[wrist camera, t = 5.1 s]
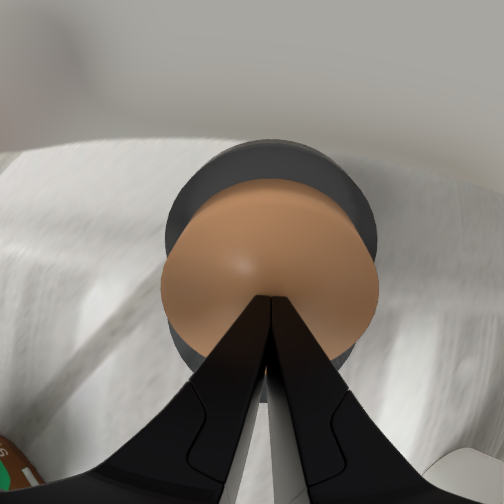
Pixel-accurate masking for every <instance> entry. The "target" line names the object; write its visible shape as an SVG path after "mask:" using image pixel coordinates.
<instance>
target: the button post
mask: <svg viewBox="0 0 504 504" xmlns="http://www.w3.org/2000/svg"><path fill="white" fill-rule="evenodd" d="M256 179H284V180H292V181H295V182H299V183H302V184H306V185H308V186H310V187H313V188H315V189H317V190H319V191H321V192H322V193H324V194H325V195H327V196H329V197H330V198H331V199H332V200H334V201H335V202H336V203H337V204H338V205H339V206H340V207H341V208H342V209H343V210H344V211H345V212H346V214H347V215H348V217H349V218H350V220H351V221H352V223H353V225H354V226H355V228H356V230H357V232H358V233H359V235H360V237H361V239H362V241H363V243H364V244H365V246H366V248H367V250H368V252H369V254H370V256H371V258H372V260H373V263H374V262H375V257H376V252H377V231H376V224H375V220H374V216H373V213H372V211H371V208H370V206H369V203H368V201H367V200H366V198H365V196H364V195H363V193H362V192H361V190H360V189H359V187H358V186H357V185H356V184H355V183H354V182H353V180H352V179H351V178H350V177H349V176H348V175H347V174H346V173H345V172H344V170H343V169H342V168H341V167H340V166H339V165H337V164H336V163H335V162H334V161H333V160H332V159H330V158H329V157H327V156H326V155H324V154H323V153H321V152H319V151H317V150H315V149H313V148H311V147H308V146H306V145H303V144H299V143H296V142H292V141H286V140H276V139H273V140H270V139H267V140H266V139H265V140H256V141H250V142H246V143H243V144H239V145H236V146H234V147H231V148H229V149H227V150H225V151H223V152H221V153H220V154H218V155H216V156H215V157H213V158H212V159H211V160H209V161H208V162H207V163H206V164H205V165H204V166H202V167H201V168H200V169H199V170H198V171H197V172H196V174H195V175H194V176H193V177H192V178H191V179H190V180H189V181H188V182H187V183H186V185H185V186H184V187H183V188H182V189H181V191H180V193H179V194H178V196H177V197H176V199H175V201H174V203H173V205H172V208H171V210H170V213H169V216H168V220H167V224H166V232H165V248H166V254H167V258H168V256H169V254H170V252H171V251H172V249H173V247H174V246H175V244H176V242H177V241H178V239H179V237H180V236H181V234H182V233H183V231H184V229H185V228H186V226H187V225H188V223H189V221H190V220H191V218H192V217H193V215H194V214H195V212H196V211H197V210H198V209H199V208H200V207H201V206H202V205H203V204H204V203H205V202H206V201H207V200H209V199H210V198H211V197H212V196H214V195H215V194H217V193H219V192H220V191H222V190H224V189H226V188H228V187H230V186H233V185H235V184H238V183H242V182H245V181H249V180H256ZM168 324H169V328H170V333H171V336H172V338H173V341H174V344H175V346H176V348H177V350H178V352H179V354H180V355H181V357H182V359H183V360H184V361H185V363H186V364H187V366H188V367H189V368H190V369H191V370H192V371H193V372H195V371H196V370H197V368H198V367H199V366H200V365H201V363H202V362H203V361H204V360H205V358H206V357H204V356H203V355H201V354H199V353H198V352H197V351H195V350H194V349H193V348H191V347H190V346H189V345H188V344H187V343H186V342H185V341H184V340H183V339H182V338H181V337H180V336H179V334H178V333H177V332H176V331H175V329H174V328H173V326H172V325H171V323H170V321H169V319H168ZM355 343H356V342H355ZM355 343H354V344H353V345H352V346H351V347H350V348H349V349H348V350H346V351H345V352H343V353H342V354H341V355H339V356H338V357H336V358H334V359H332V360H331V362H332V363H333V365H334V366H335V368H336V369H337V371H338V370H339V369H340V368H341V367H342V365H343V364H344V362H345V361H346V360H347V358H348V357H349V355H350V353H351V351H352V349H353V348H354V346H355ZM259 403H268V401H267V387H266V375H265V378H264V383H263V388H262V393H261V397H260V402H259Z"/></svg>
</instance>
